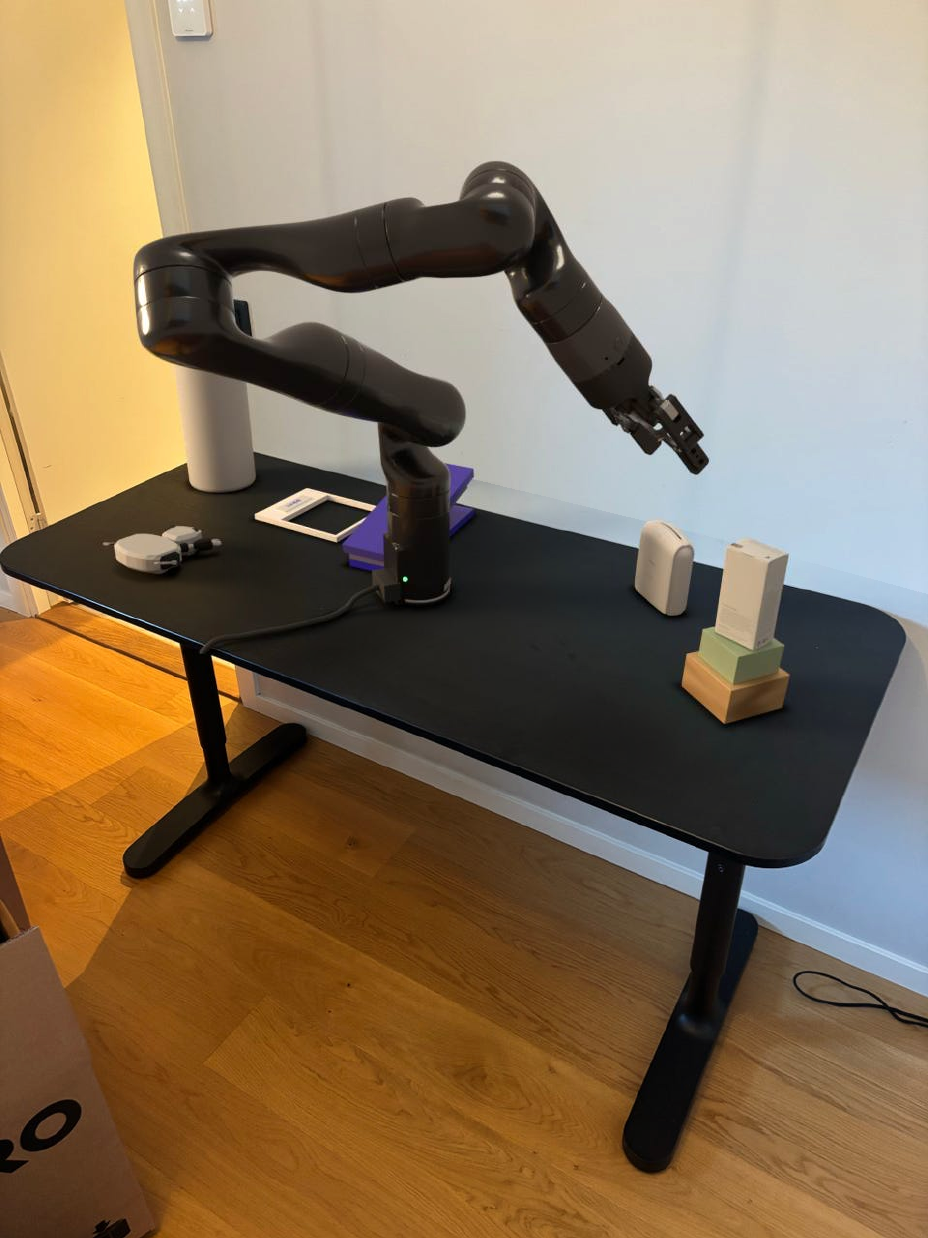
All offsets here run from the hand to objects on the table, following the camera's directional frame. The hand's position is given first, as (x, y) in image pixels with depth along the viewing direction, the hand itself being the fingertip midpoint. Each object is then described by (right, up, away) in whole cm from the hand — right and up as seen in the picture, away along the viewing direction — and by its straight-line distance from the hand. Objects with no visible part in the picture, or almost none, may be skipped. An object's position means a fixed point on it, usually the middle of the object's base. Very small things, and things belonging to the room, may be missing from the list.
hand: (677, 458), depth 98 cm
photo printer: (+7, -15, +40) cm, 43 cm away
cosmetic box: (+11, -20, +14) cm, 27 cm away
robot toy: (-71, -8, +49) cm, 87 cm away
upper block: (+11, -23, +16) cm, 30 cm away
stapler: (-32, -4, +57) cm, 66 cm away
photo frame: (-49, +1, +65) cm, 81 cm away
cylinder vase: (-70, +9, +78) cm, 105 cm away
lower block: (+11, -27, +18) cm, 35 cm away
